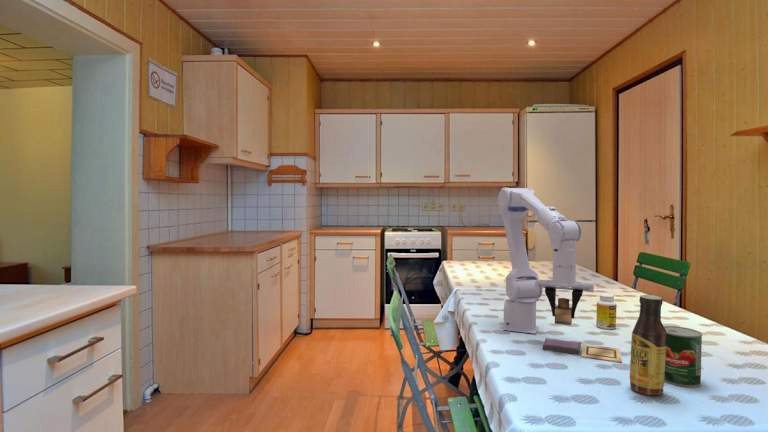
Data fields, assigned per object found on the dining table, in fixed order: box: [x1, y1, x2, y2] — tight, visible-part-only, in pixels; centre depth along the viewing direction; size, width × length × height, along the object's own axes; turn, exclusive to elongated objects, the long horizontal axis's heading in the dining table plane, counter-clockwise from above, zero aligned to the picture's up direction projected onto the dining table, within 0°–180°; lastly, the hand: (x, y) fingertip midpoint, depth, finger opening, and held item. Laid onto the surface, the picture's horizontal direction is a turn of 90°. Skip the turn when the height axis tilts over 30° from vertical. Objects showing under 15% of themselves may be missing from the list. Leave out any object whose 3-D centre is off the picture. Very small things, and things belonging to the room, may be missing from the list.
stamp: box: [554, 297, 573, 326], centre depth 121 cm, size 4×4×6 cm
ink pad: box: [542, 337, 582, 356], centre depth 122 cm, size 9×7×1 cm
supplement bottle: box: [596, 293, 617, 330], centre depth 142 cm, size 6×6×10 cm
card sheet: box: [581, 343, 623, 364], centre depth 118 cm, size 9×11×1 cm
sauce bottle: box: [629, 294, 666, 396], centre depth 94 cm, size 6×6×20 cm
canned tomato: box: [663, 325, 703, 388], centre depth 100 cm, size 8×8×11 cm
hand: (563, 316), depth 121 cm, fingers closed on stamp, 4 cm apart
